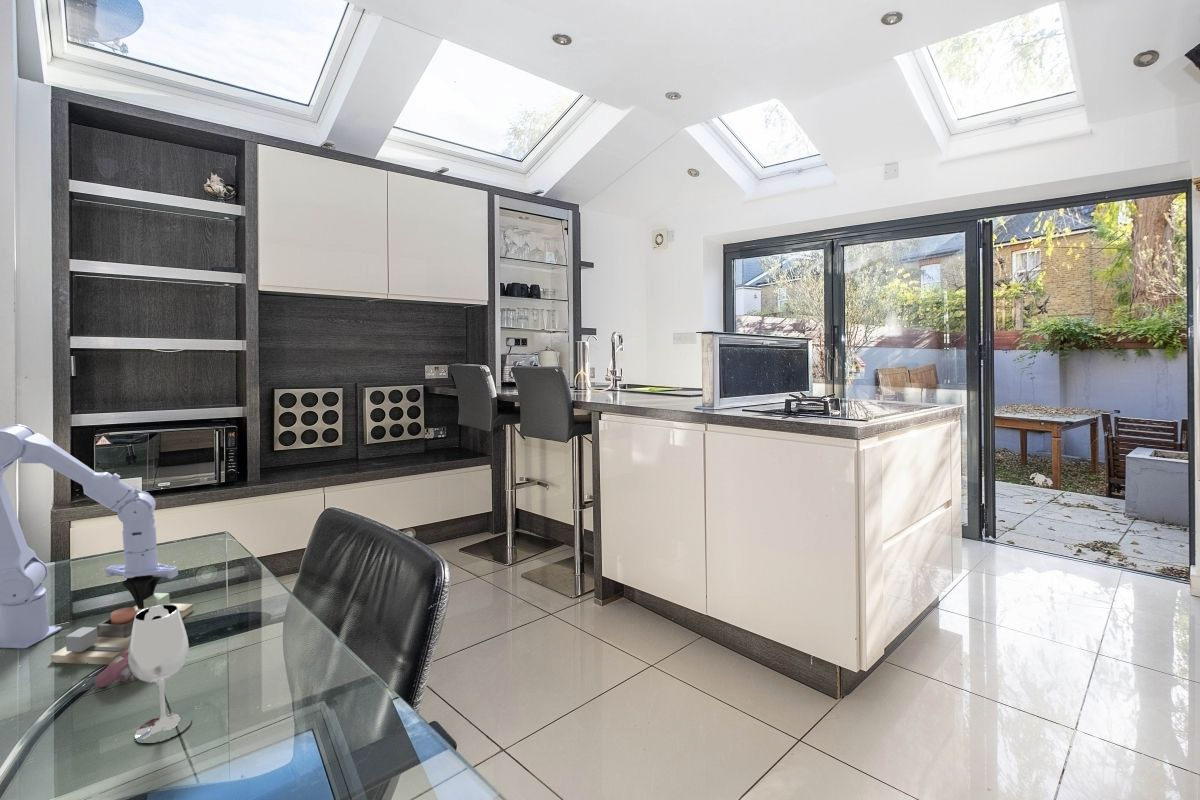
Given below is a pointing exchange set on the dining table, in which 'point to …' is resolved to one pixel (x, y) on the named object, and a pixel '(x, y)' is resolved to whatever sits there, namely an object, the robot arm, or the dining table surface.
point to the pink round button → (123, 615)
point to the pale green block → (156, 600)
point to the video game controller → (114, 672)
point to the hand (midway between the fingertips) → (144, 607)
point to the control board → (108, 642)
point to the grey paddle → (81, 639)
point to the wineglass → (158, 657)
